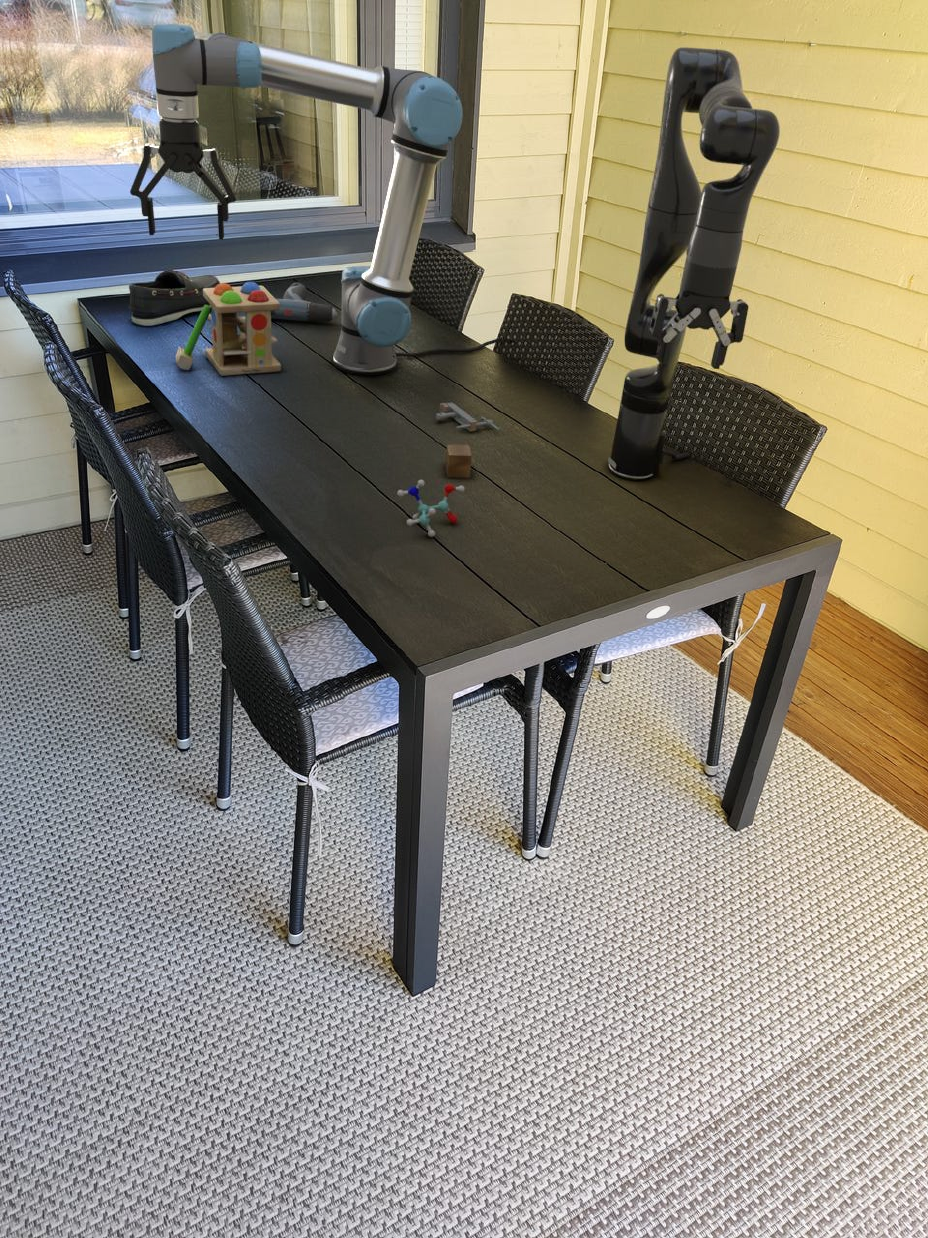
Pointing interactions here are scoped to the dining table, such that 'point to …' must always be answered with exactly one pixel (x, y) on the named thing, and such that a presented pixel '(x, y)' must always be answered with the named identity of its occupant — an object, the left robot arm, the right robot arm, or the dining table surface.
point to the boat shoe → (168, 297)
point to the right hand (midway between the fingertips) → (688, 365)
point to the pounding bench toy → (229, 347)
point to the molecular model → (424, 508)
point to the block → (458, 461)
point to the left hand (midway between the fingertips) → (187, 235)
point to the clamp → (459, 414)
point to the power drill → (301, 307)
